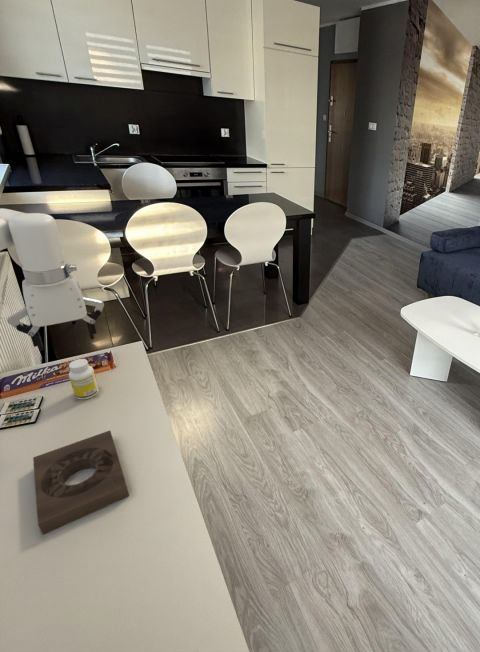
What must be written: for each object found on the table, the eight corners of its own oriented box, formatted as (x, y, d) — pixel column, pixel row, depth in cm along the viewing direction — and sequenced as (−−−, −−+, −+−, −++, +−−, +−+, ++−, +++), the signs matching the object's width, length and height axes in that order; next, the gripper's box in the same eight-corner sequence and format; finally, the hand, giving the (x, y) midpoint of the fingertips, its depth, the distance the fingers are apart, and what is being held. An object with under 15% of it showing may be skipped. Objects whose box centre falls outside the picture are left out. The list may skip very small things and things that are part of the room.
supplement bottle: (81, 387, 107) (72, 357, 102) (103, 386, 108) (95, 357, 103) (70, 400, 102) (61, 369, 98) (93, 400, 103) (84, 369, 98)
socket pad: (37, 467, 84) (33, 457, 82) (112, 439, 92) (110, 430, 90) (42, 534, 71) (37, 524, 70) (129, 496, 80) (126, 485, 78)
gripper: (93, 261, 91) (108, 325, 98) (-7, 274, 81) (18, 344, 89) (97, 272, 86) (113, 339, 93) (-8, 287, 76) (19, 361, 83)
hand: (67, 342), depth 91 cm, fingers open, 9 cm apart
